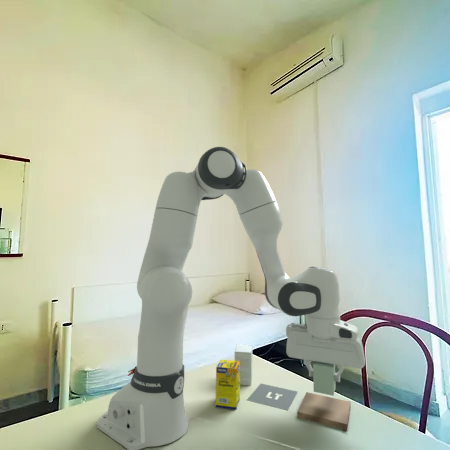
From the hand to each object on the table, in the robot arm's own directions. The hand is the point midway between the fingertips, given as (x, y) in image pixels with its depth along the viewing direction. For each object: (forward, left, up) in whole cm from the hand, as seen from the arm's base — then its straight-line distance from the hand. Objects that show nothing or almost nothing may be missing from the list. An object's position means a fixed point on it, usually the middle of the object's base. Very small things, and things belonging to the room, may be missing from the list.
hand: (324, 378), depth 80 cm
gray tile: (-15, +2, -9) cm, 17 cm away
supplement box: (-25, -8, -9) cm, 28 cm away
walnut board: (0, 0, -9) cm, 9 cm away
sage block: (0, 0, -3) cm, 3 cm away
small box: (-27, +8, -9) cm, 30 cm away
